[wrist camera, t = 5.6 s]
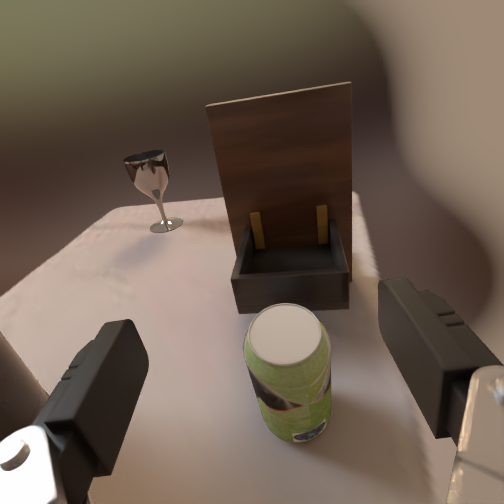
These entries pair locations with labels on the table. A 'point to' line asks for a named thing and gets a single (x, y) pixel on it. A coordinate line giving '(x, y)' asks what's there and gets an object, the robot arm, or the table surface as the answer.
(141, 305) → the table surface
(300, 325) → the beverage can
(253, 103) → the wooden backboard stand
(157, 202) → the wine glass
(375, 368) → the table surface
